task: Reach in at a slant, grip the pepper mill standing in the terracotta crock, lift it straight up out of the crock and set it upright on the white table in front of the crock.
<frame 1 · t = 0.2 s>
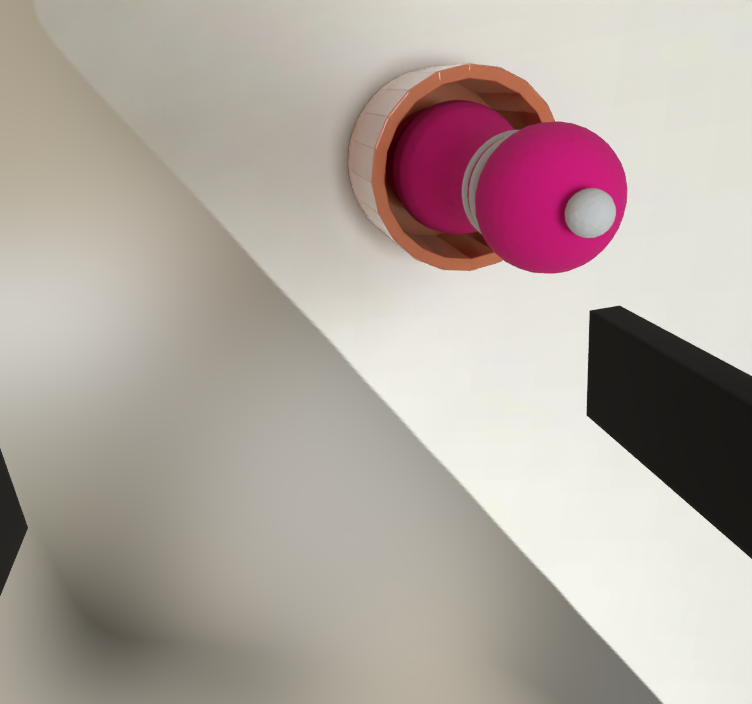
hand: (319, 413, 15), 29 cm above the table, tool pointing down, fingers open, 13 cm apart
pepper mill: (432, 160, 42), resting on crock
crock: (431, 160, 43), on the table
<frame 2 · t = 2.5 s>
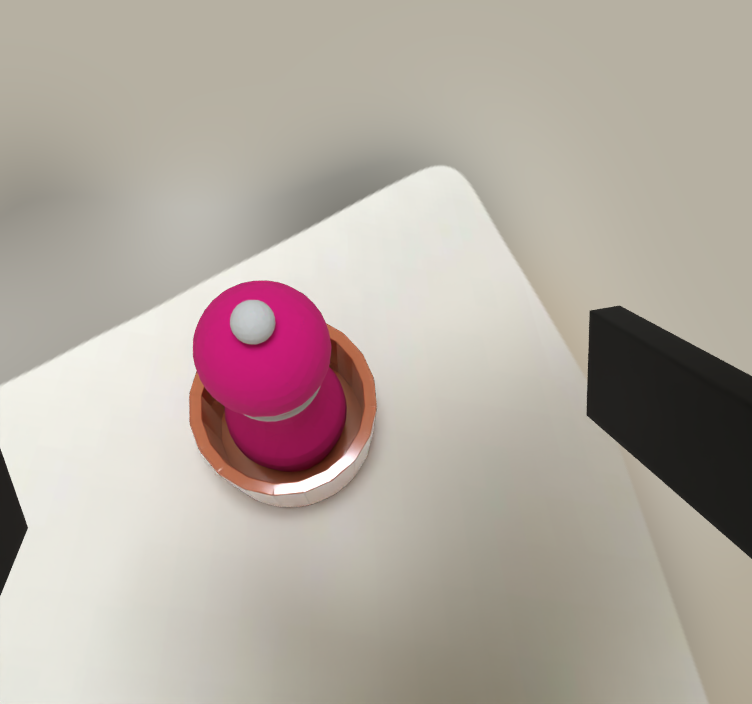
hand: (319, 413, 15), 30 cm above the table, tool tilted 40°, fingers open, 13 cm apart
pepper mill: (292, 425, 45), resting on crock
crock: (293, 426, 46), on the table
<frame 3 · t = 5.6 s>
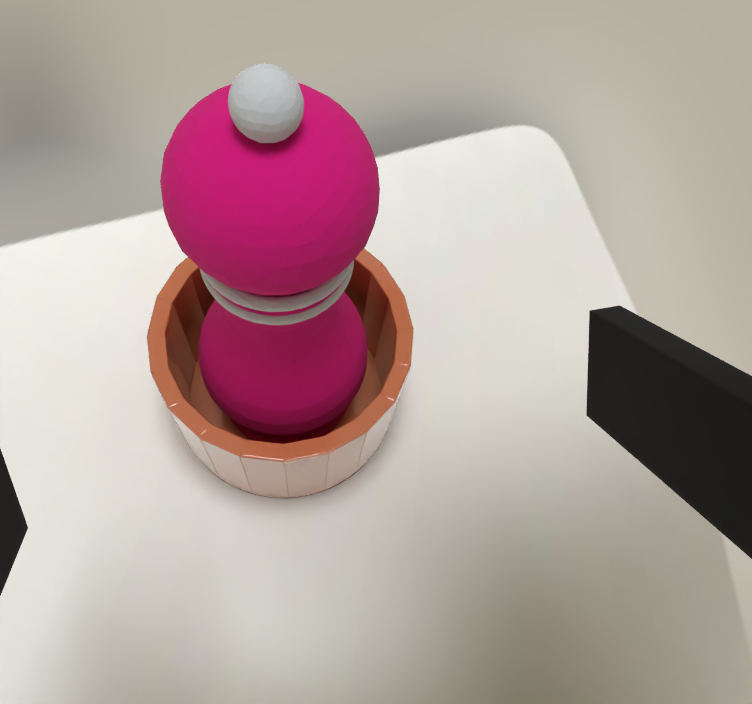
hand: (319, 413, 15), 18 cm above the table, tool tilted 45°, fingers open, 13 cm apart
pepper mill: (287, 389, 34), resting on crock
crock: (287, 391, 34), on the table
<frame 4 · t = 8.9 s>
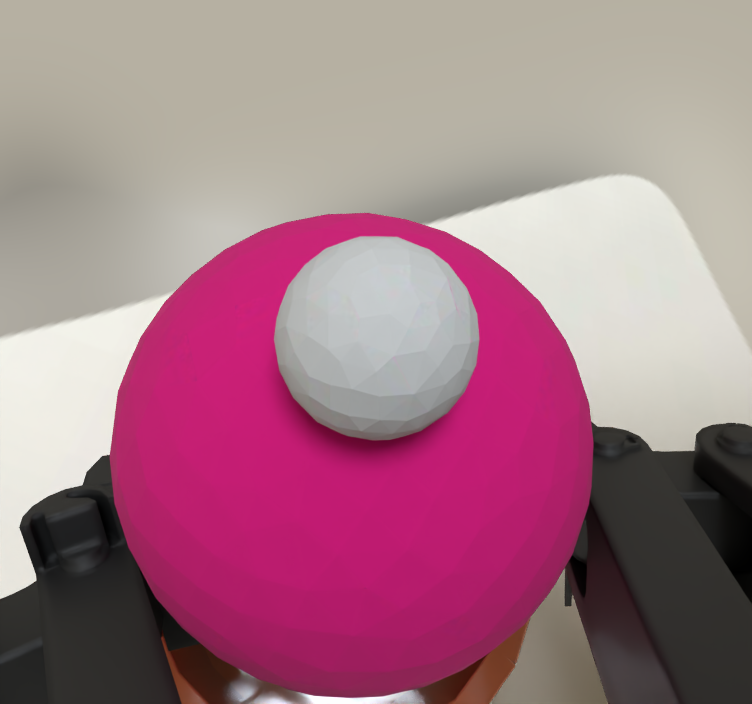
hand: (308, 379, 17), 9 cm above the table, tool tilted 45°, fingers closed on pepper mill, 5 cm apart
pepper mill: (327, 571, 24), resting on crock, touching gripper
crock: (326, 572, 24), on the table
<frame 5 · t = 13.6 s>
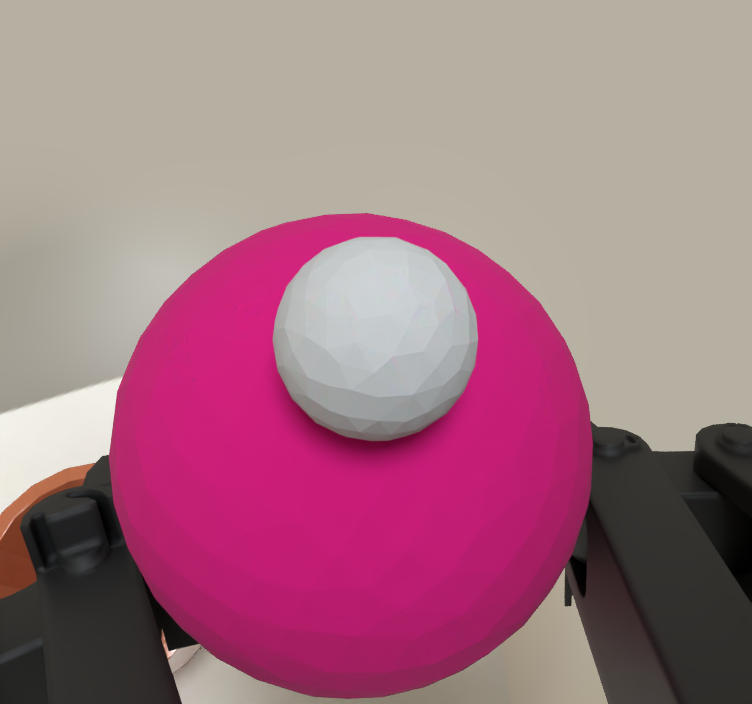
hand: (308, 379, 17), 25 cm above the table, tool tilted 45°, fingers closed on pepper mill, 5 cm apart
pepper mill: (328, 571, 24), point 16 cm above the table, touching gripper
crock: (127, 587, 38), on the table
when the fingers open (9 cm above the table, at t = 18.5 s): pepper mill stays where it is, on the table.
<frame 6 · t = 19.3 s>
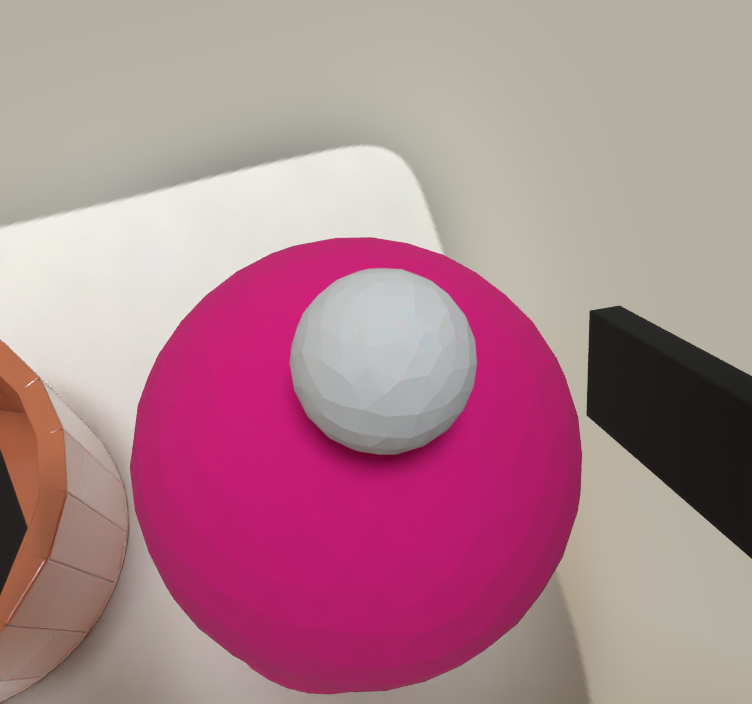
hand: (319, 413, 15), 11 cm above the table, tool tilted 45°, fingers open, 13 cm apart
pepper mill: (325, 573, 24), on the table
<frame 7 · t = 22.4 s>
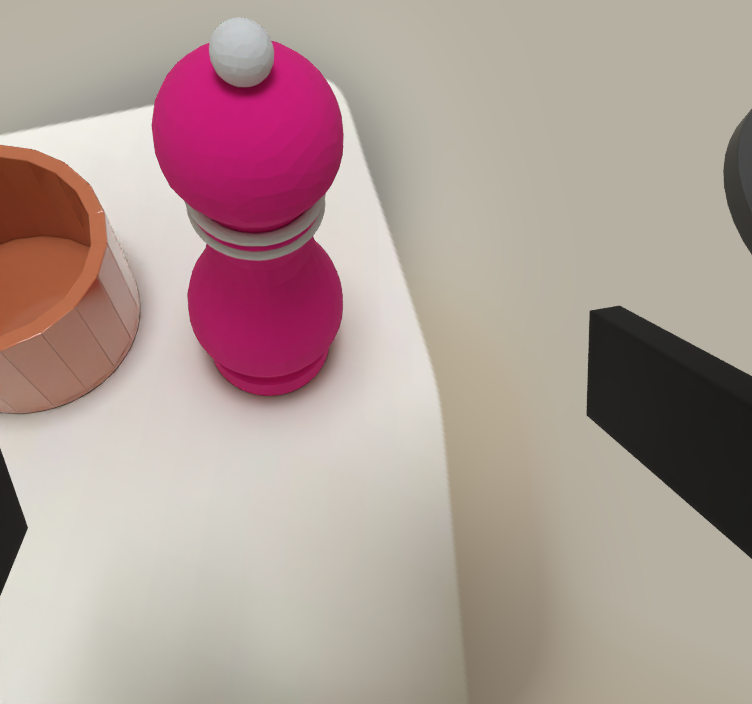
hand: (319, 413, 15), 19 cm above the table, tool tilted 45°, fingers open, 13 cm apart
pepper mill: (270, 343, 36), on the table
crock: (34, 317, 35), on the table
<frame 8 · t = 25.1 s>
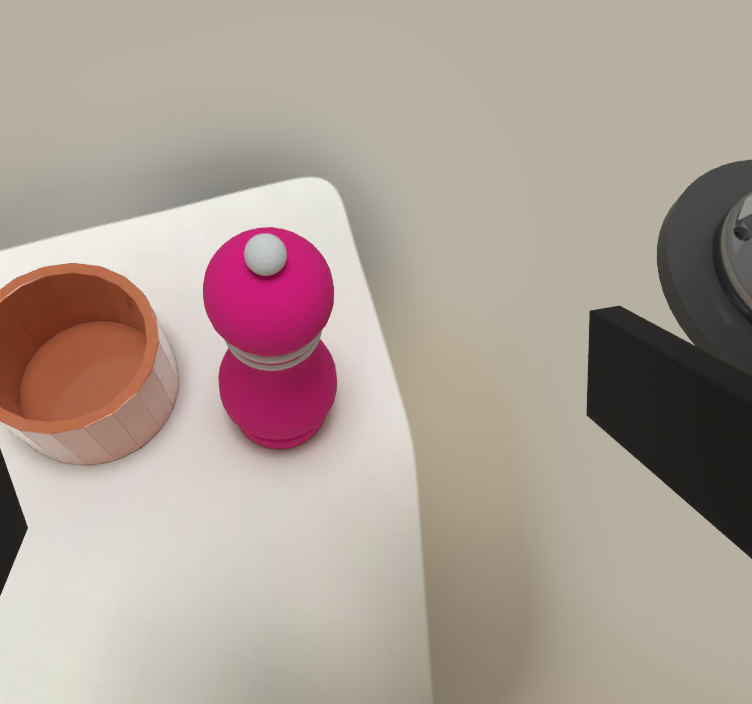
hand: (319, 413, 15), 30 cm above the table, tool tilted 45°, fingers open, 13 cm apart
pepper mill: (281, 405, 46), on the table
crock: (96, 386, 45), on the table
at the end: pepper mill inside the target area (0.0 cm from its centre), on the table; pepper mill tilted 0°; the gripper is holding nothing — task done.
